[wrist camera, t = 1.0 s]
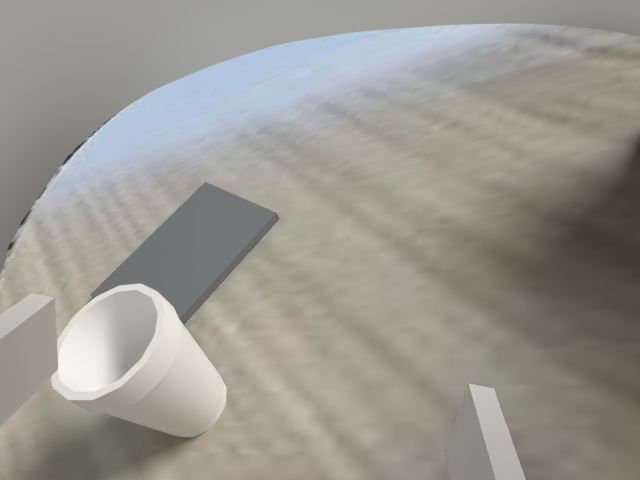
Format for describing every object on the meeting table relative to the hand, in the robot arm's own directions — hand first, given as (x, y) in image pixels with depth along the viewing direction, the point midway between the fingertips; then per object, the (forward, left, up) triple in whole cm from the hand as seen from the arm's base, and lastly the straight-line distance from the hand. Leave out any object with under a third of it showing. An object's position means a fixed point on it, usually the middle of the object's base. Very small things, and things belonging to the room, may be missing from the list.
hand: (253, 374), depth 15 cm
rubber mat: (-8, -36, -25) cm, 44 cm away
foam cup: (+3, -21, -25) cm, 33 cm away
